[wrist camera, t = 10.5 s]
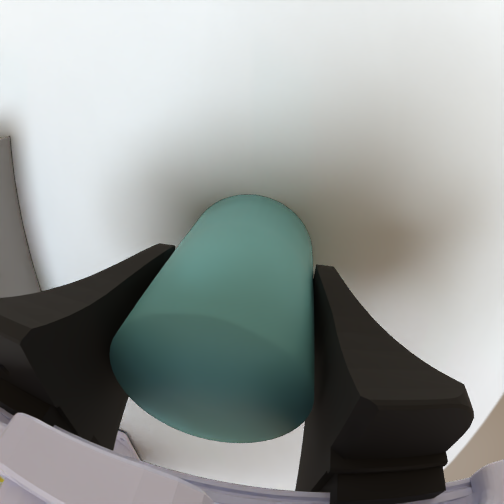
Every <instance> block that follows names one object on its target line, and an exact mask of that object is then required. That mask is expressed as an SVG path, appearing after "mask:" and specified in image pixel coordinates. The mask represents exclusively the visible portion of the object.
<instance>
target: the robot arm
mask: <svg viewBox="0 0 504 504" xmlns="http://www.w3.org/2000/svg"><path fill="white" fill-rule="evenodd" d="M174 251H175V246H174V245H167V244H157V245H154V246H152V247H150V248H148V249H146V250H144V251H142V252H140V253H138V254H136V255H134V256H132V257H130V258H128V259H126V260H124V261H122V262H120V263H118V264H116V265H113V266H111V267H109V268H107V269H105V270H103V271H101V272H98V273H96V274H94V275H92V276H89V277H87V278H84V279H81V280H79V281H76V282H73V283H70V284H67V285H63V286H60V287H56V288H53V289H49V290H46V291H41V292H37V293H32V294H26V295H21V296H14V297H4V298H0V475H1V476H2V477H3V478H5V479H4V481H3V483H2V485H1V487H0V504H504V460H500V461H497V462H493V463H490V464H488V465H486V466H484V467H482V468H481V469H479V470H478V471H477V472H475V473H474V474H473V475H472V476H471V477H470V478H465V479H461V480H457V481H452V482H447V483H445V479H444V473H443V466H445V465H446V464H447V462H448V460H447V455H446V451H447V450H448V449H449V448H450V447H451V446H452V445H453V444H454V443H455V442H456V441H458V440H459V439H460V438H461V437H462V436H463V435H464V433H465V432H466V431H467V430H468V428H469V427H470V425H471V423H472V421H473V419H474V411H473V408H472V405H471V402H470V399H469V397H468V394H467V391H466V388H465V386H464V384H462V383H460V382H458V381H457V380H455V379H453V378H451V377H449V376H447V375H445V374H443V373H442V372H440V371H438V370H436V369H435V368H433V367H432V366H430V365H428V364H427V363H425V362H424V361H422V360H421V359H419V358H418V357H417V356H415V355H414V354H412V353H411V352H410V351H408V350H407V349H406V348H405V347H403V346H402V345H401V344H400V343H398V342H397V341H396V340H395V339H394V338H393V337H391V336H390V335H389V334H388V333H387V332H386V331H385V330H384V329H383V328H382V327H381V326H380V325H379V324H378V323H377V322H376V321H375V320H374V319H373V318H372V317H371V316H370V314H369V313H368V312H367V311H366V310H365V309H364V308H363V306H362V305H361V304H360V303H359V301H358V300H357V299H356V298H355V296H354V295H353V294H352V292H351V291H350V290H349V288H348V287H347V285H346V284H345V283H344V281H343V280H342V278H341V277H340V275H339V274H338V272H337V271H336V270H335V268H334V267H331V266H324V265H316V269H315V274H314V279H313V287H314V403H313V407H312V410H311V412H310V414H309V416H308V417H307V418H306V420H305V426H304V435H303V443H302V451H301V458H300V465H299V471H298V477H297V483H296V489H295V491H288V490H277V489H268V488H260V487H252V486H245V485H239V484H233V483H227V482H222V481H217V480H212V479H207V478H202V477H198V476H194V475H189V474H185V473H181V472H178V471H174V470H170V469H167V468H163V467H160V466H156V465H153V464H150V463H147V462H143V461H141V460H140V458H139V457H138V455H137V453H136V451H135V450H134V448H133V446H132V444H131V442H130V441H129V439H128V437H127V435H126V434H125V433H123V432H121V431H118V429H119V426H120V422H121V419H122V415H123V412H124V409H125V406H126V403H127V400H128V397H129V396H128V395H127V394H126V392H125V391H124V390H123V388H122V387H121V386H120V384H119V382H118V381H117V379H116V377H115V375H114V373H113V370H112V367H111V363H110V355H109V353H110V345H111V343H112V340H113V338H114V336H115V335H116V333H117V331H118V330H119V329H120V327H121V326H122V324H123V323H124V321H125V320H126V318H127V317H128V315H129V314H130V312H131V311H132V310H133V308H134V307H135V305H136V304H137V302H138V301H139V299H140V298H141V297H142V295H143V294H144V292H145V291H146V290H147V288H148V287H149V285H150V284H151V283H152V281H153V280H154V278H155V277H156V276H157V274H158V273H159V271H160V270H161V269H162V267H163V266H164V265H165V263H166V262H167V261H168V259H169V258H170V257H171V255H172V254H173V252H174Z"/></svg>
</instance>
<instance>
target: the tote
mask: <svg viewBox="0 0 504 504" xmlns="http://www.w3.org/2000/svg"><path fill="white" fill-rule="evenodd" d="M37 292H41V290H40V287H39V284H38V281H37V277H36V274H35V271H34V267H33V264H32V260H31V257H30V253H29V249H28V245H27V241H26V237H25V233H24V228H23V224H22V219H21V214H20V209H19V204H18V198H17V192H16V186H15V179H14V172H13V164H12V155H11V145H10V136H9V137H3V138H0V298H4V297H14V296H21V295H26V294H32V293H37Z"/></svg>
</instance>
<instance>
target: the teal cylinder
mask: <svg viewBox="0 0 504 504" xmlns="http://www.w3.org/2000/svg"><path fill="white" fill-rule="evenodd" d="M109 355H110V363H111V367H112V370H113V373H114V375H115V377H116V379H117V381H118V382H119V384H120V386H121V387H122V388H123V390H124V391H125V392H126V394H127V395H128V396H129V397H130V398H131V399H132V400H133V401H134V402H135V403H136V404H137V405H138V406H140V407H141V408H142V409H143V410H145V411H146V412H147V413H148V414H150V415H151V416H153V417H154V418H156V419H158V420H159V421H161V422H163V423H165V424H166V425H168V426H171V427H173V428H175V429H177V430H179V431H182V432H185V433H187V434H190V435H193V436H196V437H200V438H204V439H208V440H214V441H219V442H229V443H253V442H261V441H266V440H271V439H274V438H277V437H280V436H283V435H285V434H287V433H289V432H291V431H293V430H294V429H296V428H297V427H298V426H300V425H301V424H302V423H303V422H304V421H305V420H306V418H307V417H308V416H309V414H310V412H311V410H312V407H313V403H314V287H313V259H312V245H311V240H310V237H309V234H308V232H307V230H306V228H305V226H304V224H303V223H302V221H301V220H300V219H299V218H298V217H297V215H296V214H295V213H294V212H292V211H291V210H290V209H289V208H288V207H286V206H284V205H283V204H281V203H279V202H277V201H275V200H273V199H270V198H267V197H264V196H258V195H236V196H232V197H228V198H225V199H223V200H220V201H219V202H217V203H215V204H213V205H212V206H211V207H209V208H208V209H207V210H206V211H205V212H204V213H203V214H202V216H201V217H200V218H199V220H198V221H197V222H196V223H195V225H194V226H193V227H192V229H191V230H190V231H189V233H188V234H187V235H186V236H185V238H184V239H183V240H182V242H181V243H180V244H179V246H178V247H177V248H176V250H175V251H174V252H173V254H172V255H171V257H170V258H169V259H168V261H167V262H166V263H165V265H164V266H163V267H162V269H161V270H160V271H159V273H158V274H157V276H156V277H155V278H154V280H153V281H152V283H151V284H150V285H149V287H148V288H147V290H146V291H145V292H144V294H143V295H142V297H141V298H140V299H139V301H138V302H137V304H136V305H135V307H134V308H133V310H132V311H131V312H130V314H129V315H128V317H127V318H126V320H125V321H124V323H123V324H122V326H121V327H120V329H119V330H118V331H117V333H116V335H115V336H114V338H113V340H112V343H111V345H110V353H109Z"/></svg>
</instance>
